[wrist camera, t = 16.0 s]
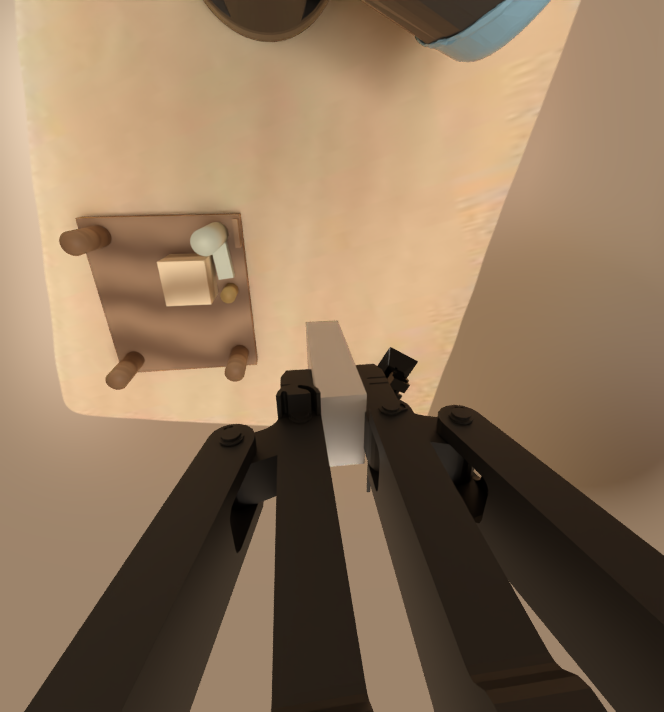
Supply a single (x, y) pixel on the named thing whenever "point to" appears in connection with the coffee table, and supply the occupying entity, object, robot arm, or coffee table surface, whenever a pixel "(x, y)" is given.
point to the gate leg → (214, 247)
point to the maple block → (188, 279)
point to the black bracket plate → (397, 370)
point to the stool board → (147, 302)
